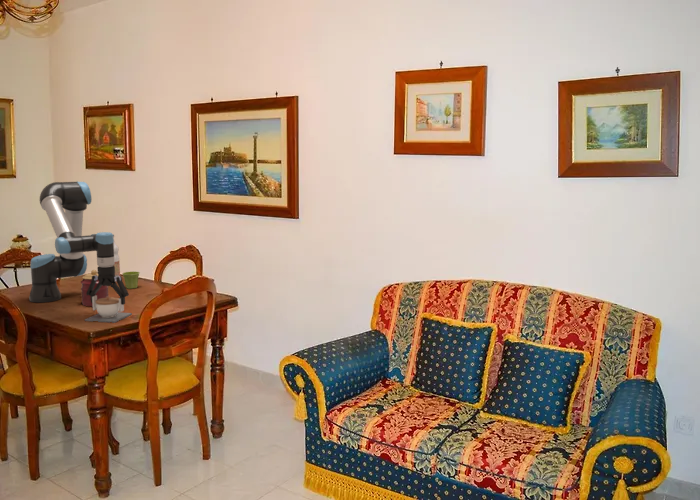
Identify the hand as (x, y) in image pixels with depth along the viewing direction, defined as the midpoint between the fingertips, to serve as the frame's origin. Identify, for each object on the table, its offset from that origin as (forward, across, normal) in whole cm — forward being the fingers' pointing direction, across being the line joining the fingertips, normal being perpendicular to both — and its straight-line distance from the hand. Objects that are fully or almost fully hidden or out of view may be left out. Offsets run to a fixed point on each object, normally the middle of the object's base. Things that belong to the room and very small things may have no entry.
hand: (108, 310), depth 298 cm
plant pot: (+4, -24, +63) cm, 68 cm away
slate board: (+4, 0, 0) cm, 4 cm away
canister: (+4, -22, +24) cm, 33 cm away
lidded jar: (+3, 0, 0) cm, 3 cm away
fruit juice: (+4, -46, +79) cm, 91 cm away
